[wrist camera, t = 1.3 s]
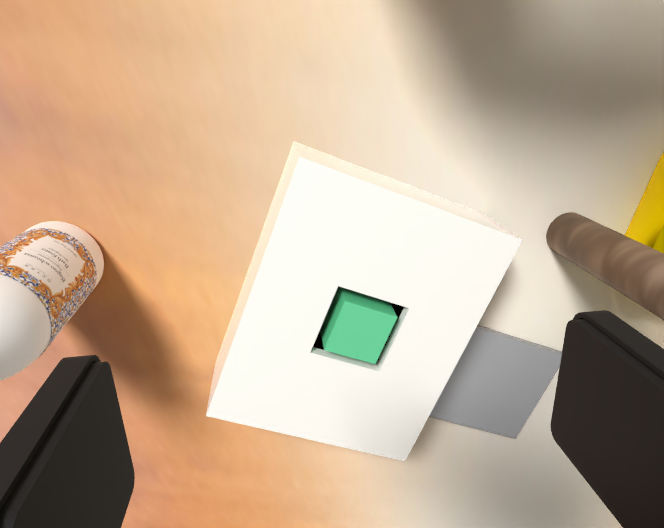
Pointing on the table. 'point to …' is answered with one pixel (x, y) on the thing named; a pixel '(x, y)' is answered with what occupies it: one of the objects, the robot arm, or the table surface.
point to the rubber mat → (496, 382)
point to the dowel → (611, 259)
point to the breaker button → (357, 325)
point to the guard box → (364, 277)
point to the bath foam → (42, 288)
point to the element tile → (650, 212)
